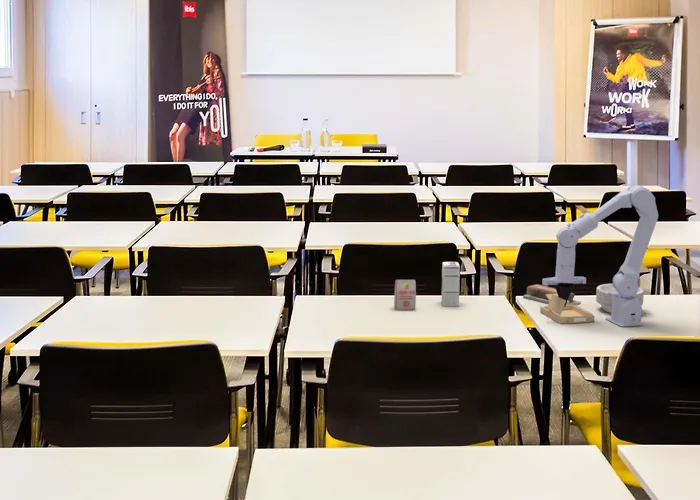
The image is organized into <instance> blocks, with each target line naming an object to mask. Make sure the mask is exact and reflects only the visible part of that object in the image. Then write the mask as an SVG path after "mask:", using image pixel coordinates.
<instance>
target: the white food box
mask: <svg viewBox="0 0 700 500" xmlns="http://www.w3.org/2000/svg"><path fill="white" fill-rule="evenodd" d="M416 285H417V284H416V279H395V282H394V296H393V297H394V298H393V299H394V303H393V304H394V305H393V308H394V311H416V306H417V305H416V303H417V302H416V301H417V299H416V298H417V291H416V289H417V287H416Z"/></svg>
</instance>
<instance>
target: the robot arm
mask: <svg viewBox="0 0 700 500" xmlns="http://www.w3.org/2000/svg"><path fill="white" fill-rule="evenodd" d="M632 206H633V207H634V208H635V210H636V212H637V214H638V215H639V220H638V222H637V225H636V228H635V231H634V234H633V236H632V239H631V242H630V245H629V247H628V251H627V254H626V256H625V260H624V261H623V263H622V265H621V266H620V267H619V270H618V272H617V273H616V274H614V276H613V278H612V284H613V285H614V287H615V288H616V289H615V291H614V292H613V299H612V312H611V313H610V314H611V315H610V317H609V316H607V317H605V320H607V321H608V322H611V323H613V324H615V325H617V326H618V327H622V328H623V327H635V326H636V327H637V326H638V327H640V326H643V325H644V324H643V323H642V322H641V319H642V309H643V307H642V306H643V305H642V306H641V303H640V302H639V301H638V300H637V297H636V295H637V294H636V293H637V291H638V288H640V287H639V279H640V268H641V266H642V264H643V261H644V258H645V255H646V253H647V249H648V246H649V243H650V241H651V238H652V235H653V233H654V231H655V227H656V225H657V222H658V219H659V211H658V209H657V204H656V196H654V194H653V192H651V191H650V190H649V189H648V188H646V187H644V186H642V185H640V184H631V185H629V187H627V188H625V189H623V190H622V191H620V192H618V194H616V195H615V196H613V197H612V198H611V199H610V200H608V201H607V202H605V203H604V204H603V205H602V206H600V207H599V208H598V209H596V210H595V211H593V212H592V213H591V212H585V213H581V214H579V217H577V219H575V220H574V221H572V222H571V223H569V222H568V223H567V224H566V226H564V227H561V228H560V229H559V230H558V232H557V234H556V240H557V241H558V242H557V250H556V265H555V276H553V277H546V278H542V283H541V285H543V286H546V287H549V286H554V287H553V288H554V289H556V291H557V294H558V297H560V298H562V299H564V300H566V303H565V305H564V307H566V304H567V301H568V298H569V296H570V294H571V293H573V291H574V290H575V284H582V285H585V284H587V277H584V276H575V266H576V265H575V264H576V246H577V244H578V242H579V240H580V239H582V238H584V237H585V236H586V235H588V234H589V233H591V232H592V231H594V230H596V229H597V228H598V226H599V222H600V221H602V220H604V219H606V218H607V217H608V216H610V215H611V214H613V213H615V212H616V211H618V210H619V209H621V208H622V209H624V208H625V209H626V208H628V209H630V208H631V209H632Z"/></svg>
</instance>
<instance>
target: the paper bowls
mask: <svg viewBox="0 0 700 500" xmlns="http://www.w3.org/2000/svg"><path fill="white" fill-rule="evenodd" d="M615 289H616V288H615V287H614V285H613V283H604V284H599V285H598V286H597V287H596V292H595V295H596V297H595V302H596V303H597V304H600V305H601V309H603V311H604V312H607V313H609V314H611V312H612V299H613V292H614V291H615ZM644 293H645V292H644V289H643V288H642V287H639V288H638V291H637V293H636V294H637V295H636V297H637V300H638V301H639V302H640V303H641V306H643V303H644Z"/></svg>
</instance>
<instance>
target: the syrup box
mask: <svg viewBox="0 0 700 500" xmlns="http://www.w3.org/2000/svg"><path fill="white" fill-rule="evenodd" d="M441 264H442V266H441V267H442V268H441V305H442V306H443V307H460V283H461V282H460V276H461V275H460V274H461V272H460V271H461V270H460V269H461V266H460V264H459V262H458V261H443V262H442V263H441Z"/></svg>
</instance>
